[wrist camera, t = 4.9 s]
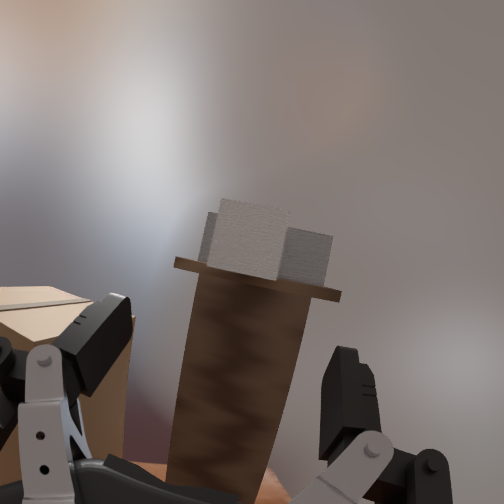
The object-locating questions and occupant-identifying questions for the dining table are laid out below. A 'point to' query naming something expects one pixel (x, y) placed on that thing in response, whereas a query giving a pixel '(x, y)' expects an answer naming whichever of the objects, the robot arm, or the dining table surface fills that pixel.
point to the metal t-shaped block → (263, 244)
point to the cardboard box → (45, 332)
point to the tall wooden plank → (235, 377)
